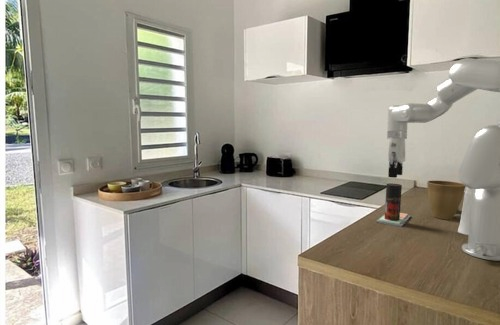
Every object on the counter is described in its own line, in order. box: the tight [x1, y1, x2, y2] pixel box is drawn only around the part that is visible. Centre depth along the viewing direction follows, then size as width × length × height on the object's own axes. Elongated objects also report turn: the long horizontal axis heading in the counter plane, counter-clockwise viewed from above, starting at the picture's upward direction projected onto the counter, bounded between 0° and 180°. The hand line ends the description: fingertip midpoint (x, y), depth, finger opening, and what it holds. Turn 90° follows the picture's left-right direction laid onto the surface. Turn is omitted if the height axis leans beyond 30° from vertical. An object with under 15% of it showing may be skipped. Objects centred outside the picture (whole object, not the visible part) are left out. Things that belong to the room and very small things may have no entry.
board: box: [375, 212, 411, 228], centre depth 144 cm, size 18×10×1 cm, turn 143°
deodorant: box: [384, 183, 403, 221], centre depth 139 cm, size 6×6×15 cm
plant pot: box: [426, 180, 466, 221], centre depth 147 cm, size 15×15×16 cm
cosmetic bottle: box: [457, 187, 475, 236], centre depth 126 cm, size 6×6×22 cm
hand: (395, 176), depth 137 cm, fingers open, 9 cm apart
